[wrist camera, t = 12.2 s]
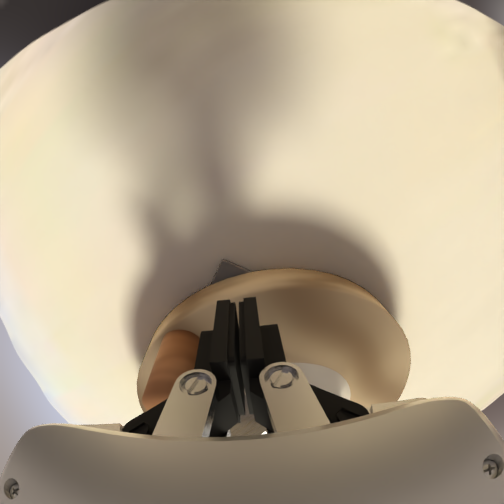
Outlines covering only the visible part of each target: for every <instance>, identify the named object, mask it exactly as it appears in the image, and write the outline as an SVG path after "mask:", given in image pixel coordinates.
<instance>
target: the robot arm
mask: <svg viewBox="0 0 504 504" xmlns="http://www.w3.org/2000/svg"><path fill="white" fill-rule="evenodd" d="M244 388H245V391H244ZM245 393H246V398H247V404H248V409H249V414H254V418H255V422H257V423H259V424H260V425H262V426H264V427H265V428H266V434H260V435H249V436H233V437H231V428H232V427H233V426H234V425H236V424H237V423H241V419H240V415H245ZM0 504H504V440H503V439H502V437H501V436H500V434H499V433H498V431H497V430H496V429H495V427H494V426H493V425H492V423H491V422H490V421H489V419H488V418H487V417H486V416H485V415H484V414H483V413H482V412H481V411H480V409H479V408H477V407H476V406H475V405H474V404H472V403H471V402H469V401H468V400H466V399H462V398H457V397H439V398H430V399H426V398H415V399H409V400H403V401H396V402H388V403H379V404H372V405H371V407H366V408H365V407H364V406H362V405H360V404H359V403H356V402H353V401H351V400H348V399H345V398H343V397H340V396H338V395H335V394H333V393H330V392H328V391H325V390H323V389H321V388H318V387H316V386H314V385H311V384H309V383H308V381H307V379H306V377H305V375H304V373H303V371H302V370H301V369H300V368H299V367H298V366H297V365H295V364H292V363H289V362H286V358H285V354H284V349H283V345H282V341H281V336H280V332H279V328H278V324H271V325H263V326H260V324H259V316H258V309H257V301H256V297H248V298H243V301H242V302H239V325H238V318H237V311H236V304H235V302H232V303H231V302H230V299H229V300H218V301H217V304H216V312H215V319H214V327H213V330H210V331H201V334H200V339H199V345H198V350H197V356H196V361H195V367H194V370H190V371H187V372H185V373H183V374H182V375H180V376H179V377H178V378H177V380H176V381H175V384H174V386H173V388H172V390H171V393H170V395H169V397H168V398H167V399H166V400H164V401H163V402H161V403H159V404H158V405H156V406H154V407H153V408H151V409H149V410H148V411H146V412H144V413H143V414H141V415H139V416H138V417H136V418H134V419H132V420H131V421H129V422H128V423H127V424H126V425H125V426H122V425H121V424H120V423H119V424H99V425H73V424H56V423H52V424H43V425H38V426H35V427H32V428H31V429H29V430H28V431H27V432H25V434H24V435H23V436H22V437H21V438H20V440H19V441H18V443H17V444H16V446H15V448H14V450H13V451H12V453H11V455H10V457H9V459H8V461H7V464H6V465H5V467H4V470H3V472H2V474H1V477H0Z"/></svg>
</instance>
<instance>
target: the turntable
mask: <svg viewBox="0 0 504 504" xmlns="http://www.w3.org/2000/svg"><path fill="white" fill-rule="evenodd" d="M248 297H256V301H257V309H258V316H259V324H260V326H263V325H271V324H278V328H279V332H280V336H281V341H282V345H283V349H284V354H285V358H286V362H289V363H292V364H295V365H297V366H298V367H299V368H300V369H301V370H302V371H303V373H304V375H305V377H306V379H307V381H308V383H309V384H311V385H314V386H316V387H318V388H321V389H323V390H325V391H328V392H330V393H333V394H335V395H338V396H340V397H343V398H345V399H348V400H351V401H353V402H356V403H359V404H360V405H362V406H364V407H365V408H366V407H371V405H372V404H379V403H388V402H396V401H397V400H398V399H399V397H400V396H401V394H402V392H403V389H404V387H405V385H406V382H407V379H408V376H409V371H410V364H411V358H410V348H409V344H408V340H407V338H406V336H405V334H404V332H403V330H402V328H401V327H400V326H399V324H398V323H397V322H396V321H395V319H394V318H393V317H392V316H391V315H390V314H389V313H388V311H387V310H386V309H385V308H384V307H383V306H382V305H381V303H380V302H379V301H378V300H377V299H376V298H375V297H374V296H373V295H371V294H370V293H369V292H368V291H366V290H365V289H364V288H362V287H360V286H359V285H357V284H355V283H353V282H352V281H350V280H347V279H344V278H342V277H339V276H336V275H333V274H329V273H324V272H320V271H315V270H306V269H294V268H290V269H269V270H262V271H256V272H249V273H245V274H242V275H238V276H234V277H231V278H227V279H224V280H222V281H220V282H217V283H215V284H212V285H210V286H207V287H205V288H204V289H202V290H200V291H198V292H197V293H195V294H193V295H191V296H190V297H188V298H187V299H186V300H184V301H183V302H182V303H180V304H179V305H178V306H177V307H175V308H174V309H173V310H172V311H171V312H170V313H169V314H168V316H167V317H166V318H165V319H164V320H163V321H162V323H161V324H160V326H159V327H158V329H157V330H156V332H155V333H154V336H153V338H152V340H151V343H150V345H149V347H148V350H147V352H146V354H145V357H144V359H143V362H142V364H141V367H140V369H139V373H138V379H137V394H138V398H139V402H140V406H141V408H142V410H143V412H146V411H148V410H149V409H151V408H153V407H154V406H156V405H158V404H159V403H161V402H163V401H164V400H166V399H167V398H168V397H169V395H170V393H171V390H172V388H173V386H174V384H175V381H176V380H177V378H178V377H179V376H180V375H182V374H183V373H185V372H187V371H190V370H194V367H195V361H196V356H197V350H198V345H199V339H200V334H201V331H210V330H213V327H214V319H215V312H216V304H217V301H218V300H229V299H230V302H231V303H232V302H235V304H236V311H237V318H238V325H239V302H242V301H243V298H248ZM244 391H245V388H244ZM245 395H246V393H245Z"/></svg>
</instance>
